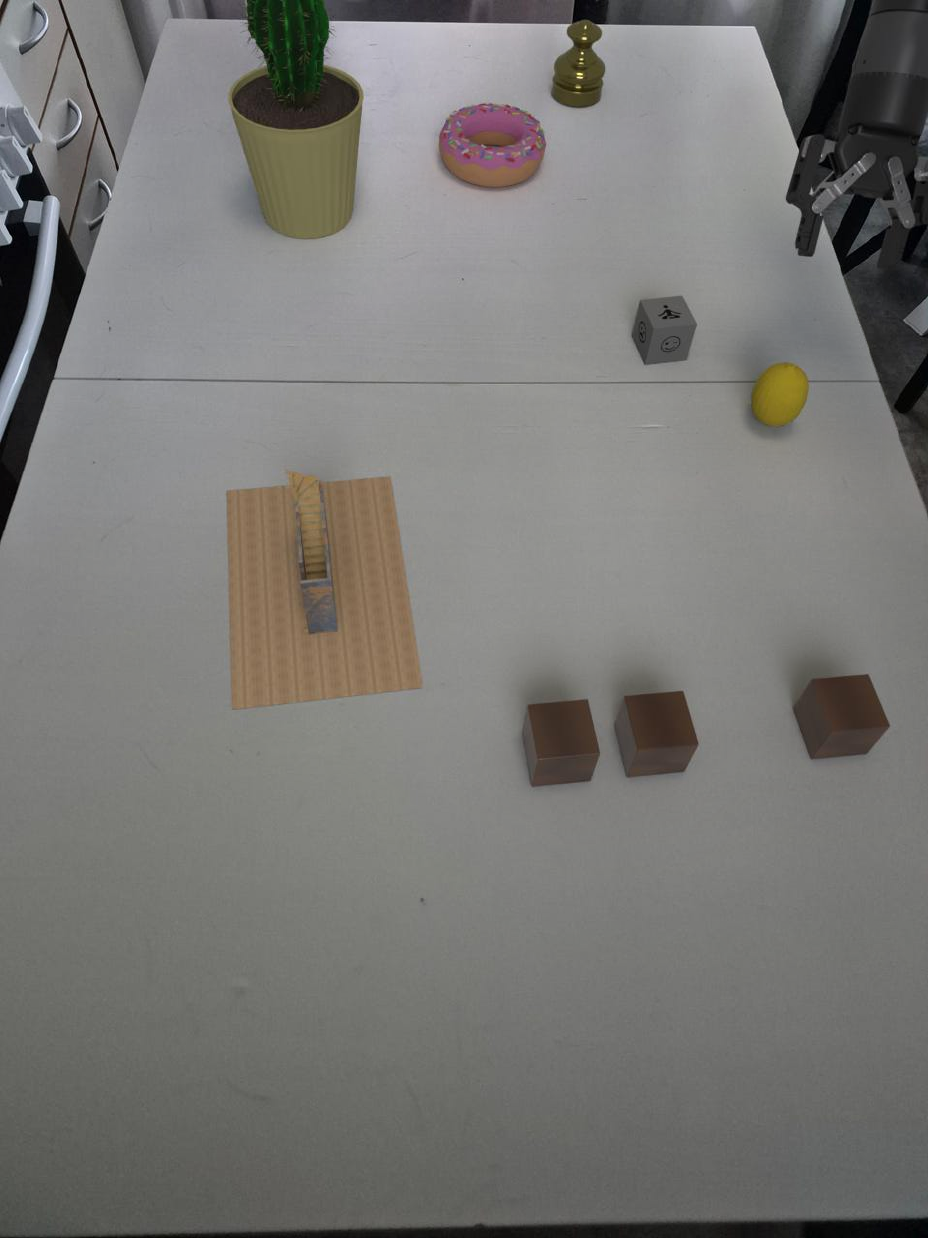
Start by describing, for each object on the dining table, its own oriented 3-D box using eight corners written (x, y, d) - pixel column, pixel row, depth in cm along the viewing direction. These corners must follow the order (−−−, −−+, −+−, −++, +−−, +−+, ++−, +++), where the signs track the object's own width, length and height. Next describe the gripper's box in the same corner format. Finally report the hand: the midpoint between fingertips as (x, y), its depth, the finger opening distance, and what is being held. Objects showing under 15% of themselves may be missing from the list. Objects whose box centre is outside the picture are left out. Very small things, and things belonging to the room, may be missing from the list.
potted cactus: (381, 186, 127) (371, -79, 102) (352, 256, 118) (335, -15, 93) (267, 170, 128) (230, -96, 103) (231, 239, 119) (181, -34, 94)
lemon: (782, 403, 106) (806, 345, 100) (801, 439, 103) (827, 381, 97) (735, 407, 105) (756, 349, 99) (752, 444, 102) (775, 386, 96)
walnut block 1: (579, 726, 82) (587, 697, 78) (591, 781, 79) (600, 754, 75) (521, 731, 82) (527, 702, 78) (531, 787, 79) (537, 760, 75)
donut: (451, 197, 126) (453, 160, 122) (428, 139, 134) (428, 102, 130) (556, 186, 128) (561, 150, 124) (527, 129, 136) (531, 93, 132)
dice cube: (644, 364, 109) (653, 328, 105) (631, 335, 112) (639, 299, 108) (686, 359, 110) (697, 323, 106) (672, 331, 112) (682, 295, 108)
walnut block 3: (846, 701, 85) (868, 672, 81) (867, 754, 82) (890, 726, 78) (791, 706, 84) (811, 677, 80) (810, 759, 81) (831, 732, 77)
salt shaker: (540, 93, 142) (548, 19, 134) (575, 77, 145) (584, 4, 137) (576, 113, 139) (586, 40, 131) (611, 97, 142) (623, 24, 134)
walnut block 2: (670, 717, 83) (683, 688, 79) (684, 772, 80) (699, 744, 76) (613, 723, 83) (623, 693, 79) (626, 777, 80) (637, 750, 76)
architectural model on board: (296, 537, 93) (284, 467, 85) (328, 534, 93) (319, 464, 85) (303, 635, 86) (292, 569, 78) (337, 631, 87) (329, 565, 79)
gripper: (842, 56, 84) (794, 252, 90) (987, 84, 87) (932, 274, 92) (804, 70, 91) (762, 251, 97) (940, 95, 94) (891, 271, 99)
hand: (845, 262), depth 95 cm, fingers open, 8 cm apart
